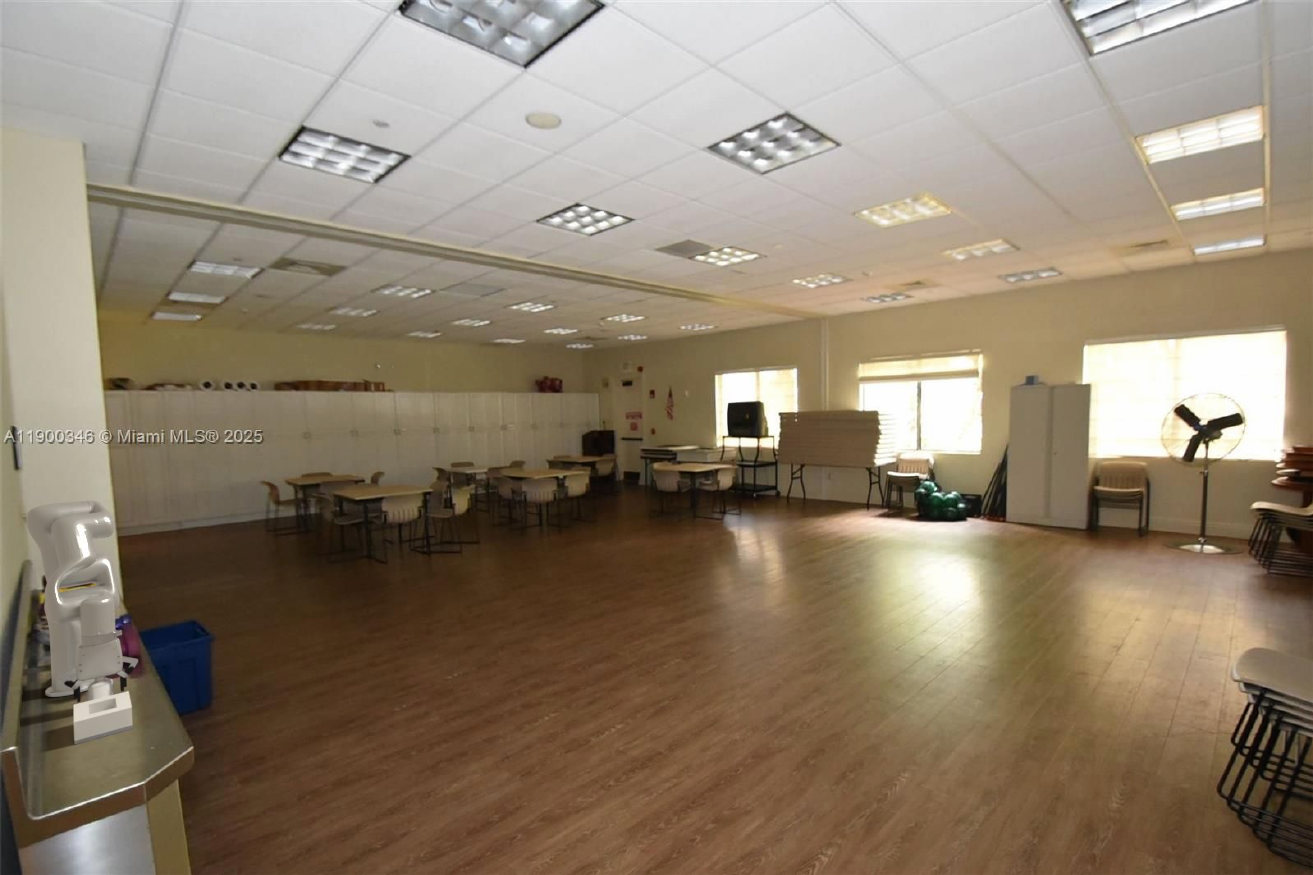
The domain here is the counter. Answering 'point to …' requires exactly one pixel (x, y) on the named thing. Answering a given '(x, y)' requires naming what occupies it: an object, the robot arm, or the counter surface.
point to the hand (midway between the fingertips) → (101, 695)
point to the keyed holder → (102, 717)
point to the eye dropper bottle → (100, 688)
